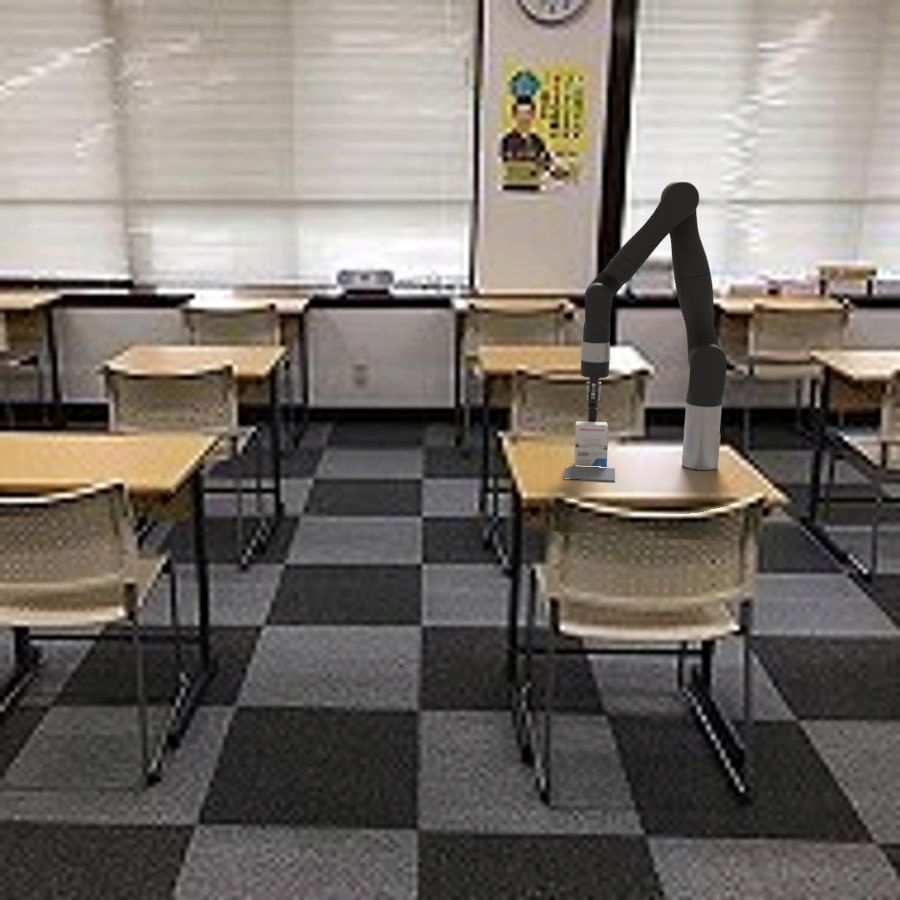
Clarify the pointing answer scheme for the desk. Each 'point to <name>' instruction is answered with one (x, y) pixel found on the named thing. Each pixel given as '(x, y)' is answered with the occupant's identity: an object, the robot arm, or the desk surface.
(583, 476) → the mat
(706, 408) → the robot arm
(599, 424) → the ink box
